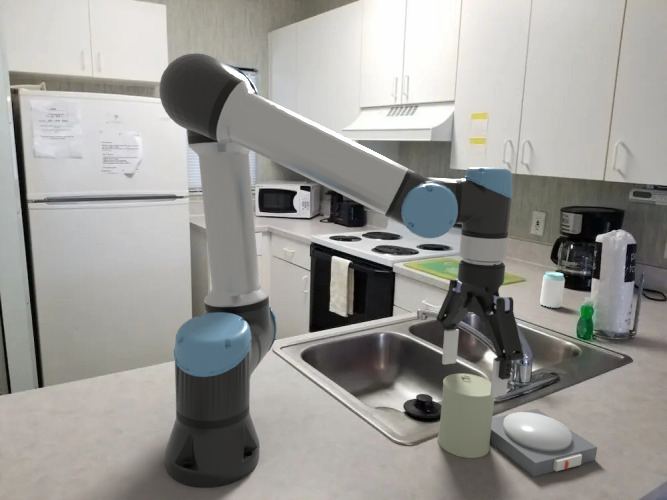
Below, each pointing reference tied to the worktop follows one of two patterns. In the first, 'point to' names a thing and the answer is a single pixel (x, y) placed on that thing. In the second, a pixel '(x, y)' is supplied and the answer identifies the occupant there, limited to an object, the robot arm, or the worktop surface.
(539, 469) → the scale
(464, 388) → the can
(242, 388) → the robot arm
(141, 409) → the worktop surface
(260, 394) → the worktop surface
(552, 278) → the can
